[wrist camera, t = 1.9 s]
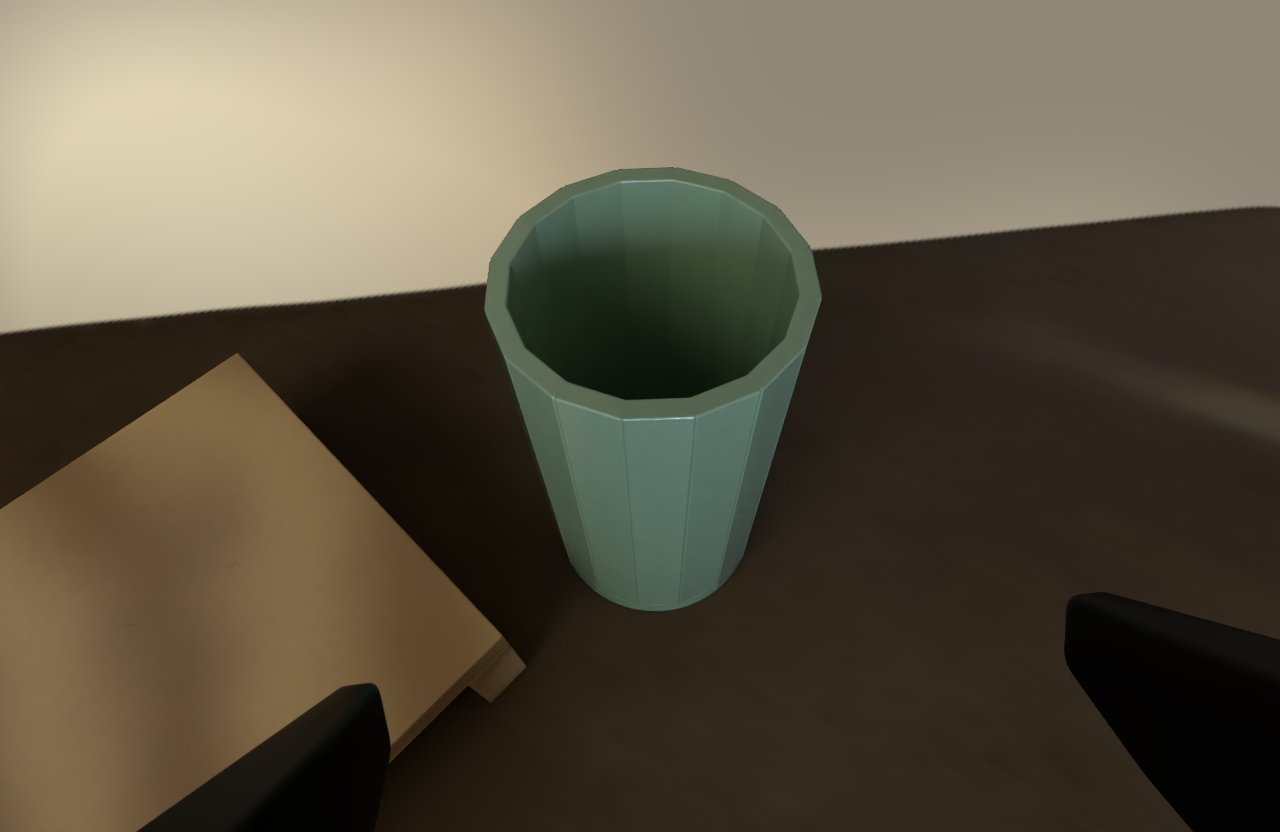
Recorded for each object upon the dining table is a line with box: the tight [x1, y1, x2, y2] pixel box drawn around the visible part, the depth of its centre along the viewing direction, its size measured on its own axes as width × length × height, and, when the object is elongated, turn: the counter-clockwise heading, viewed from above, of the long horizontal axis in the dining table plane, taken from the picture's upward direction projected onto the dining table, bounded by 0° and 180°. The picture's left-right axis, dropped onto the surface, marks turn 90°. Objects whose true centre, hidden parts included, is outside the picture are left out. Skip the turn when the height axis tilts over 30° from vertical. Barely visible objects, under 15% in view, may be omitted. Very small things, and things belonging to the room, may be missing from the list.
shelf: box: [0, 353, 526, 832], centre depth 20 cm, size 14×14×6 cm
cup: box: [484, 167, 822, 611], centre depth 19 cm, size 7×7×12 cm
